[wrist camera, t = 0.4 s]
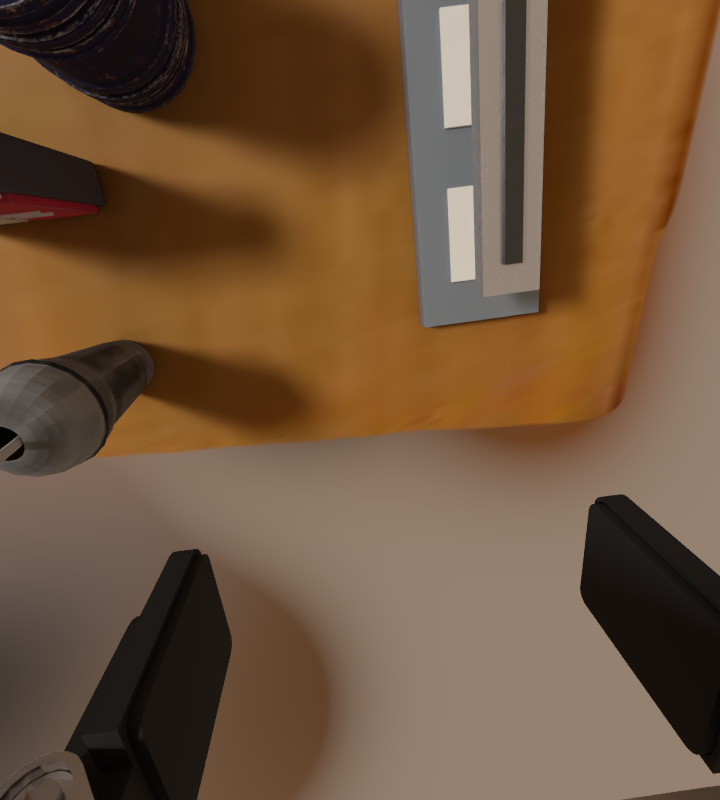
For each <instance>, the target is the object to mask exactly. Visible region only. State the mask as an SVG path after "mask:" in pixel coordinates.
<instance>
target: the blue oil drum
mask: <svg viewBox="0 0 720 800" xmlns="http://www.w3.org/2000/svg"><path fill="white" fill-rule="evenodd" d="M0 44H1V45H3V46H5V47H7V48H9V49H11V50H13V51H16V52H18V53H21V54H24V55H27V56H30V57H33V58H34V59H35V60H36V61H37V62H38V63H40V64H41V65H42V66H43V67H44V68H46V69H47V70H48V71H50V72H51V73H53V74H54V75H56V76H57V77H58V78H60V79H61V80H63V81H64V82H66V83H67V84H69V85H70V86H72V87H73V88H75V89H77V90H78V91H80V92H82V93H84V94H86V95H88V96H90V97H92V98H95V99H97V100H98V101H100V102H102V103H104V104H106V105H108V106H110V107H112V108H115V109H118V110H121V111H126V112H132V113H138V112H148V111H153V110H156V109H158V108H161V107H163V106H165V105H166V104H168V103H169V102H171V101H172V100H173V99H174V98H175V97H176V96H177V95H178V94H179V93H180V92H181V90H182V89H183V88H184V86H185V85H186V83H187V81H188V78H189V76H190V74H191V71H192V67H193V64H194V58H195V48H196V37H195V30H194V23H193V19H192V15H191V11H190V8H189V6H188V3H187V1H186V0H0Z"/></svg>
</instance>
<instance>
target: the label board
mask: <svg viewBox="0 0 720 800" xmlns="http://www.w3.org/2000/svg"><path fill="white" fill-rule="evenodd" d="M397 2H398V15H399V29H400V43H401V57H402V71H403V85H404V99H405V113H406V127H407V141H408V155H409V169H410V183H411V196H412V210H413V224H414V238H415V252H416V266H417V280H418V294H419V308H420V322H421V325H422V326H423V327H424V328H426V327H433V326H441V325H448V324H455V323H462V322H470V321H477V320H484V319H491V318H499V317H506V316H513V315H520V314H527V313H535V312H539V290H532V291H525V292H518V293H510V294H503V295H496V296H488V297H481V296H479V295H476V285H475V244H474V202H473V161H472V119H471V78H470V36H469V0H397Z"/></svg>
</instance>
